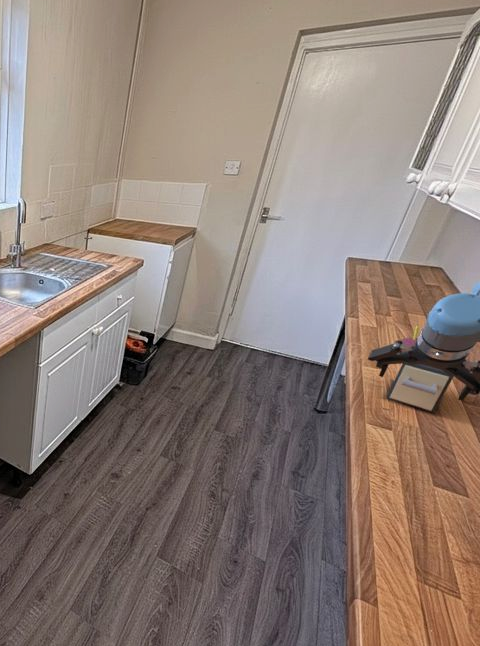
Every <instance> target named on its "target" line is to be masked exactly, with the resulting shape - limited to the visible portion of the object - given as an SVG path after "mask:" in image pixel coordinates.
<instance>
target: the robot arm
mask: <svg viewBox="0 0 480 646" xmlns="http://www.w3.org/2000/svg"><path fill="white" fill-rule="evenodd" d="M417 339H418V340H417V341H416V343H415V346H412V347H408V346H405V345H403V342H402V341H399V340H400V339H399V340H397V339H396V340H395V341H394V342H393V343H391V344H388V345H385V346H381V347H378V348H375V349H372V350H371V351H370V353H369V355H368V356H367V360H368V361H370V362H375V361H376V365H375V367H376V368H378V369H381V370H380V372H379V374H378V377H381V378H384V376H385V374H386V372H387V370H388V368H389V366H390V365H399V364H400V365H402V364H403V363H408V364H410V365H416V364H421V365H425V366H430V367H433V368H436V369H439V370H442V371H444V372H445V373H447V374H448V375H453V376H454V377H453V378H455V379H457V380H458V381H459V382H461V383H462V384H463V385H464V387H463V388H462V389H461V391H460V394H459V396H458V398H457V401H462V402H463V401H464V400H465V399H466V398H467V397H468V396H469V395H473V396H477V395H478V396H479V395H480V360H478V361H477V362H472V361H468V360H467V357H468V356H469V354H470V353H471V352H472V350H473V348H474V347H475V345H476V344H478V343H480V281H478V282H477V283H476V284H475V285H474V286H473V287H472V290H471V293H465V292H461V293H454V294H450V295H447V296H445V297H442V298H441V299H439V300H438V301H437V302H436V303H435V304H434V305H433V307H432V309H431V310H430V311H429V312H428V314H427V317H426V321H425V324H424V325H423V328H422V329H421V331H420V333H419V336H418V337H417Z"/></svg>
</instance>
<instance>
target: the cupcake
mask: <svg viewBox="0 0 480 646" xmlns="http://www.w3.org/2000/svg"><path fill="white" fill-rule="evenodd" d="M419 328H420V326H419V324H418V323H416V326H415V329H414V332H413V336H412V337H406V338H405V337H404V338H402V339H399V341H402V342H403V345H405V346H408V347H412V346H415V343H416V341H417V340H418V337H417V336H418V333H419Z"/></svg>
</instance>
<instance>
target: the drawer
mask: <svg viewBox="0 0 480 646" xmlns="http://www.w3.org/2000/svg"><path fill="white" fill-rule="evenodd" d="M448 379H449V377H448V376H445V375H443V374H440V373H436V372H432V371H429V370H425V369H421V368H418V367H414V366H408V365H405V367H404V369H403V371H402V373H401V375H400V377H399V379H398V381H397V383H396V385H395V388H394V390H393V392H392V394H391V396H390V398H393V399H396V400H399V401H402V402H405V403H408V404H411V405H414V406H417V407H421V408H424V409H427V410H430V411H431V410H432V409H433V407H434V405H435V403H436V401H437V399H438V397H439V396H440V394H441V392H442V390H443V388H444V386H445V385H446V383H447V381H448Z"/></svg>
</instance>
